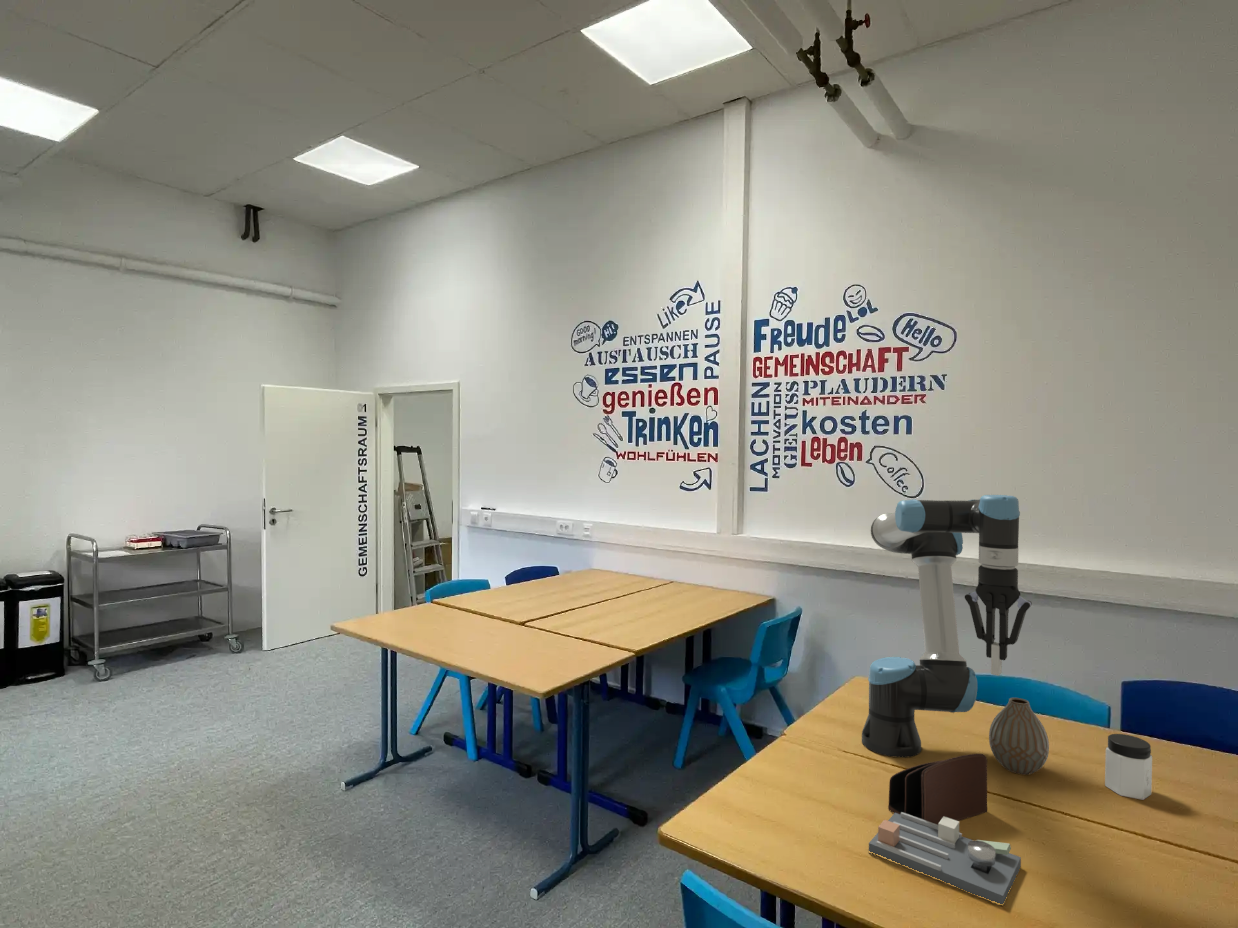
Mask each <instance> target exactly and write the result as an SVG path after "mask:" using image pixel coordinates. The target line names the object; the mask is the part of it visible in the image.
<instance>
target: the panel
mask: <svg viewBox="0 0 1238 928" xmlns="http://www.w3.org/2000/svg"><path fill="white" fill-rule="evenodd" d="M887 821H890V822H893V823H896V824H898V825H900V833H899V842H898V843H897V844H896V845H895V847H892V846H890V845H887V844H885V843H882V842H879V841H878V832H877V833H876V834H875V835H874V836H873V838H871V840H870V841H869V842H868V852H869V851H870V852H873V853H875V854H878V855H881V856H883V857H886V858H887V859H891V860H892V861H895V862H897V863H900V864H901V865H905V866H908V867H909V868H912V869H914V870H917V871H919V872H923V873H924V874H927V875H930V876H932V877H935V878H937V879H940V880H942V881H944V882H946V883H950V884H951V885H954V886H956V887H958V888H960V889H963V890H965V891H967V892H970V893H972V894H975V895H978V896H981V897H984V898H986V899H989V900H991V901H995V902H997V903H1000V904H1003V903H1004V901H1005V899H1006V897H1007V894H1008V892H1009V890H1010V888H1011V886H1012V885H1013V886H1014V883H1015V881H1016V879H1015V878H1017V877H1016V875H1017V876H1018V874H1019V873H1020V870H1021V868H1020V867H1022V858H1021V856H1019V855H1016V854H1013V853H1011V852H1010V851H1011V849H1012V846H1011V844H1010V843H1007V842H1001V841H1000V842H999V841H990V840H981V839H976V840H977V841H983V842H986V843H988V844H990V845H991V846H993V847H994V849H995V865H993V866H989V872H988V874H986V873H984V872H981V871H979V870H976V869H973V863H974V862H972V861H971V860H970V859H969V858H968V843H969V842H970V841H973V839H971V838H968V837H965V836H963V833H961V832H960V831H959V838H958V839H957V841H956V843H952V842H949V841H947V840H944V839H941V838H938V825H937V824H934V823H931V822H929V821H926V820H923V819H920V818H917V817H914V816H912V815H909V814H906V813H903V812H901V815H900V814H898V813H893V814H892V815H891V817H889V819H888V820H887ZM1019 869H1020V870H1019ZM1014 880H1015V881H1014ZM1013 882H1014V883H1013ZM1013 886H1012V887H1013ZM960 889H959V890H960ZM1011 889H1012V888H1011ZM965 891H964V892H965ZM1010 891H1011V890H1010ZM967 892H966V893H967ZM970 893H969V894H970ZM1009 893H1010V892H1009ZM972 894H971V895H972ZM975 895H974V896H975ZM1008 895H1009V894H1008ZM1007 898H1008V897H1007ZM1006 900H1007V899H1006ZM1005 902H1006V901H1005ZM1004 904H1005V903H1004Z"/></svg>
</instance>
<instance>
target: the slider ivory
mask: <svg viewBox="0 0 1238 928" xmlns="http://www.w3.org/2000/svg"><path fill="white" fill-rule="evenodd" d="M959 832H960V821H956V820H953V819H950V818H947V817H944V816H943V818H942V819H941V820H940V822H939V823H938V838H941V839H944V840H947V841H949V842H952V843H956V841H957V839H958V838H959Z"/></svg>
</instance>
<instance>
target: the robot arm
mask: <svg viewBox="0 0 1238 928" xmlns="http://www.w3.org/2000/svg"><path fill="white" fill-rule="evenodd" d="M896 504H897V505H896V506H895V512H893V513H890V512H887V513H884V514H881V515H879V516H878V517H876V518H875V519H874V520H873V521H872V524H871V525H870V536H871V539H872V540H873V541H874V543H875V544H876V545H877V546H879V547H880V548H881V549H883V550H885V551H888V552H891V553H894V554H895V553H896V554H909V555H910V556H911V561H912V562H913V563H914V565H916V566H917V568H918V570H917V571H918V581H919V596H920V605H921V606H920V609H921V618H922V619H921V620H922V630H923V633H922V634H923V643H924V646H923V647H924V653H923V654H922V655H921V656H920V657H919V665H916V663H915V662H914V661H913V660H912V659H910V658H908V657H901V656H889V657H882V658H881V657H880V658H878V659H876V660H874V661H872V663H871V664H870V666H869V671H868V679H867V680H868V715H867V718H866V721H865V723H864V725H863V728H862V731H861V744H863V746H864V747H865V748H866V749H868V750H870V751H872V752H874V753H877V754H879V755H883V756H888V757H892V758H893V757H894V758H911V757H915V756H917V755H920V753H921V752H922V741H921V738H920V734H919V731H918V728H917V725H916V721H915V712H916V711H926V712H927V711H929V712H930V711H931V712H943V713H944V712H945V713H951V714H954V713H967V712H969V711H970V710H972V709H973V707H974V706H975V703H976V700H977V696H978V695H977V694H978V693H977V692H978V679H977V676H976V673H975V670H974V669H973V668H972V667H970V666H968V665H967V660H966V659H965V658H964V657H963V656H962V654H960V646H959V645H960V644H959V637H958V635H959V634H958V626H957V625H958V624H957V617H956V616H957V615H956V605H955V604H956V603H955V594H954V582H953V572H952V566H953V564H954V563H956V561H957V556H958V555H960V554H961V553H963V552H962V551H963V549H964V548H963V547H964V546H963V544H964V540H963V534H978V563H979V564H980V565H979V566H978V574H977V575H978V579H977V582H978V583H977V586H976V588H975V591H973V592H968V593H967V594H965V595H964V599H965V601H966V603H967V604H968V606H969V609H970V614H971V618H972V621H973V626H974V630H975V633H976V638H977V639H978V640H982V641H984V643H985V644H986V645H985V650H986V651H985V656H986V658H989V659H990V661H991V663H990V664H991V665H990V674H991V675H993V676H1000V675H1001V674H1002V673H1003V672H1002V667H1003V666H1002V664H1003V661H1006V660H1007V659H1008V645H1009V646H1010V645H1015V644H1016V643H1017V642H1018V639H1019V637H1020V632H1021V630H1022V626H1023V623H1024V620H1025V617H1026V613H1027V611H1028V610H1029V609H1030V608H1031V606H1032V605H1033V603H1032V601H1030V600H1027V599H1025V598H1024V597H1022V596H1021V592H1020V590H1019V584H1018V583H1019V569H1018V568H1017V566H1019V533H1020V531H1019V530H1020V529H1019V528H1020V516H1021V512H1020V505H1019V504H1020V503H1019V499H1018V498H1017V497H1016V496H1014V495H1007V494H984V495H981V497H980V498H978V499H969V500H933V499H931V500H928V499H927V500H926V499H914V498H913V499H905V500H904V499H903V500H900V501H898V503H896ZM979 599H980V600H981V602H982V603H983V605H984V606H985V613H986V614H985V617H986V619H985V622H986V623H985V626H984V622H983V618H982V614H981V610H980V606H979V602H978V601H979ZM1016 602H1017V608H1018V610H1017V613H1016V616H1015V619H1014V622H1013V626H1012V628H1011V632H1010V635H1009V612H1010V608H1011V607H1013V605H1015V603H1016ZM996 609H997V610H998V613H999V614H998V615H999V625H998V626H999V628H998V629H999V631H998V633H999V634H998V642H996V641H995V640H996V637H995V636H996Z"/></svg>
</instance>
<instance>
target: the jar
mask: <svg viewBox="0 0 1238 928" xmlns="http://www.w3.org/2000/svg"><path fill="white" fill-rule="evenodd" d="M1151 753H1152V749H1151V744H1150V743H1149V742H1148V741H1146V740H1144V739H1142V738H1139V737H1137V736H1133V735H1130V734H1124V733H1112V734H1108V736H1107V747H1106V748H1105V767H1104V768H1105V770H1104V771H1105V773H1104V785H1105V787H1107V788H1108V789H1110V790H1111V791H1113V792H1114V793H1116V794H1117V795H1118V796H1121V797H1126V798H1131V799H1136V800H1137V799H1138V800H1143V801H1144V800H1145V799H1147V798H1148V797H1149V796H1151V795H1152V784H1153V783H1152V780H1153V778H1152V777H1153V756H1152V754H1151Z"/></svg>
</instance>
